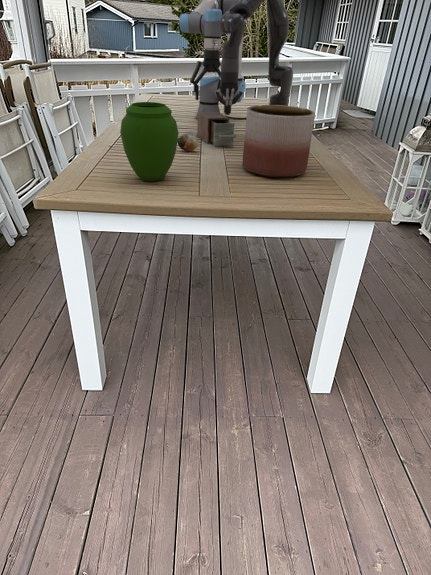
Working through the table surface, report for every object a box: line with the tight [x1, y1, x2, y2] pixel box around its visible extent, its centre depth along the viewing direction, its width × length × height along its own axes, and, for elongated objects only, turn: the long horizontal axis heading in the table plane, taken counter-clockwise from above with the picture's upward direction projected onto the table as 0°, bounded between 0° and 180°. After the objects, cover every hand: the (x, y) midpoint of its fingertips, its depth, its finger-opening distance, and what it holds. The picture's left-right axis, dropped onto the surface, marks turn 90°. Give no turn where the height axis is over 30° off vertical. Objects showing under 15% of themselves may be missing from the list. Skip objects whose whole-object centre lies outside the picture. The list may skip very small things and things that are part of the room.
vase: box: [119, 101, 179, 182], centre depth 140 cm, size 20×20×24 cm
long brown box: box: [196, 112, 230, 145], centre depth 201 cm, size 17×10×11 cm, turn 19°
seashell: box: [177, 131, 200, 152], centre depth 179 cm, size 10×6×8 cm, turn 97°
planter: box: [242, 104, 316, 179], centre depth 156 cm, size 25×25×22 cm
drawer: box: [209, 120, 237, 147], centre depth 192 cm, size 22×9×10 cm, turn 19°
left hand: (210, 100), depth 199 cm, fingers open, 13 cm apart
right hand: (227, 114), depth 181 cm, fingers closed
